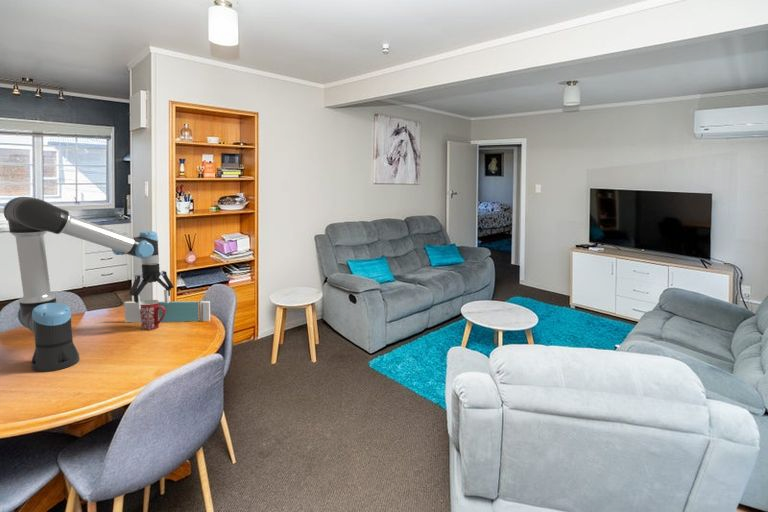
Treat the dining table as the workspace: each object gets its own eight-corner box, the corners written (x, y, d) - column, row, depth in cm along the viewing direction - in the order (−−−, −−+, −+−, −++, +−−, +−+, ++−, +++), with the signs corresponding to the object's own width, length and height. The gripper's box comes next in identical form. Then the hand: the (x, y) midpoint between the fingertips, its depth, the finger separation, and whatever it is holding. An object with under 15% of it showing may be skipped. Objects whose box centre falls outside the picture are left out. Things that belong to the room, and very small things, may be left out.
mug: (135, 330, 209) (134, 303, 207) (148, 324, 218) (146, 298, 216) (159, 332, 207) (157, 305, 205) (171, 326, 216) (169, 300, 214)
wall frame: (209, 321, 226) (208, 301, 224) (125, 322, 219) (124, 301, 218) (210, 320, 228) (209, 300, 226) (127, 321, 221) (126, 300, 220)
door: (196, 322, 224) (196, 303, 222) (158, 323, 221) (157, 303, 219) (198, 320, 227) (198, 301, 225) (160, 320, 224) (159, 301, 222)
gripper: (171, 259, 219) (173, 298, 223) (119, 265, 199) (122, 309, 203) (179, 261, 215) (181, 301, 219) (126, 268, 195) (130, 312, 199)
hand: (153, 305), depth 211 cm, fingers open, 13 cm apart
